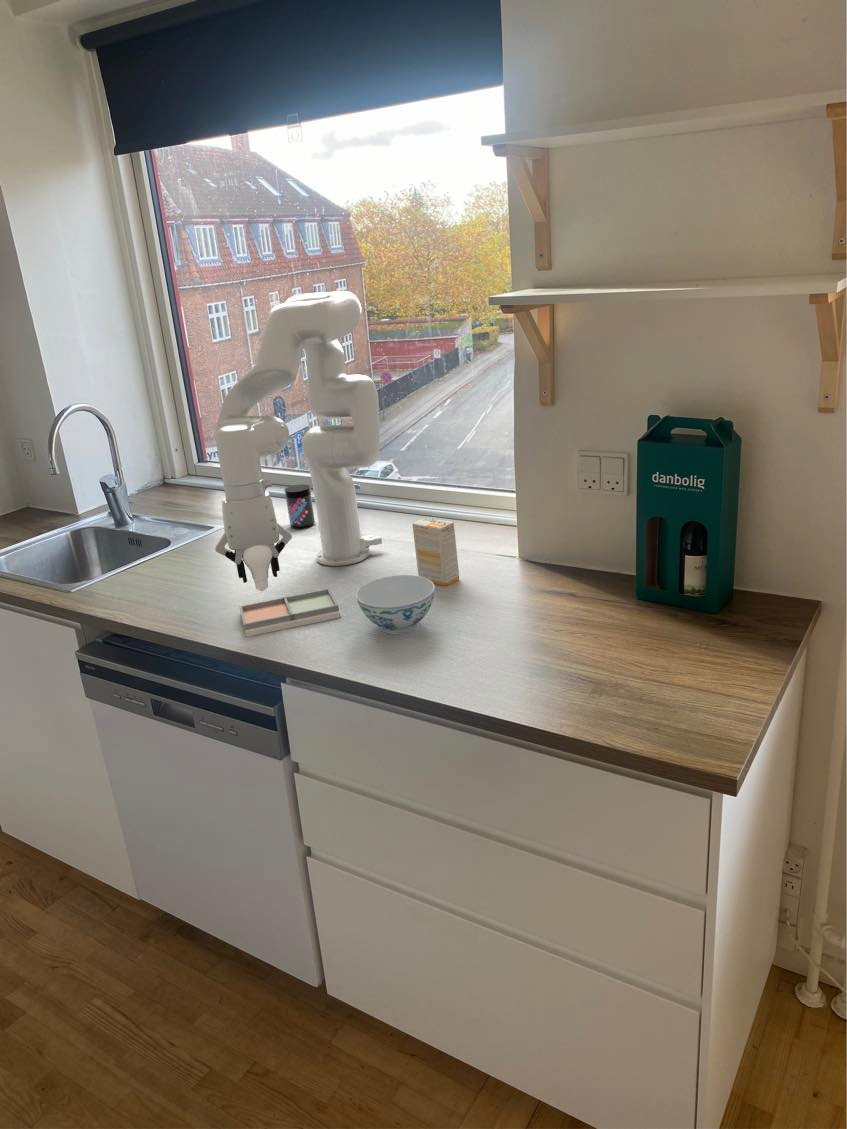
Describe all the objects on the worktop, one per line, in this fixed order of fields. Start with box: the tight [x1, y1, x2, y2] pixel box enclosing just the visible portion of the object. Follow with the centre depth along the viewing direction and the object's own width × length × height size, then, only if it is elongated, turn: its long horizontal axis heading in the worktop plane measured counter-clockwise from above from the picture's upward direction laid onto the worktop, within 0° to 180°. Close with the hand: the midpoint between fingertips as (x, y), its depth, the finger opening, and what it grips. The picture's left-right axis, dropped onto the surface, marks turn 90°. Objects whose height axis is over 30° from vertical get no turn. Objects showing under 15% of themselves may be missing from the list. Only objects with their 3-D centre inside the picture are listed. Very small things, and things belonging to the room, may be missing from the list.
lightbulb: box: [242, 545, 273, 592], centre depth 172 cm, size 6×6×11 cm
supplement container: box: [284, 484, 316, 530], centre depth 231 cm, size 7×7×10 cm
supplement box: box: [412, 517, 460, 587], centre depth 185 cm, size 8×5×13 cm, turn 47°
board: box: [238, 587, 342, 637], centre depth 177 cm, size 19×12×2 cm, turn 106°
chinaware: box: [355, 574, 436, 635], centre depth 166 cm, size 15×15×8 cm
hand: (259, 576), depth 173 cm, fingers closed on lightbulb, 5 cm apart
